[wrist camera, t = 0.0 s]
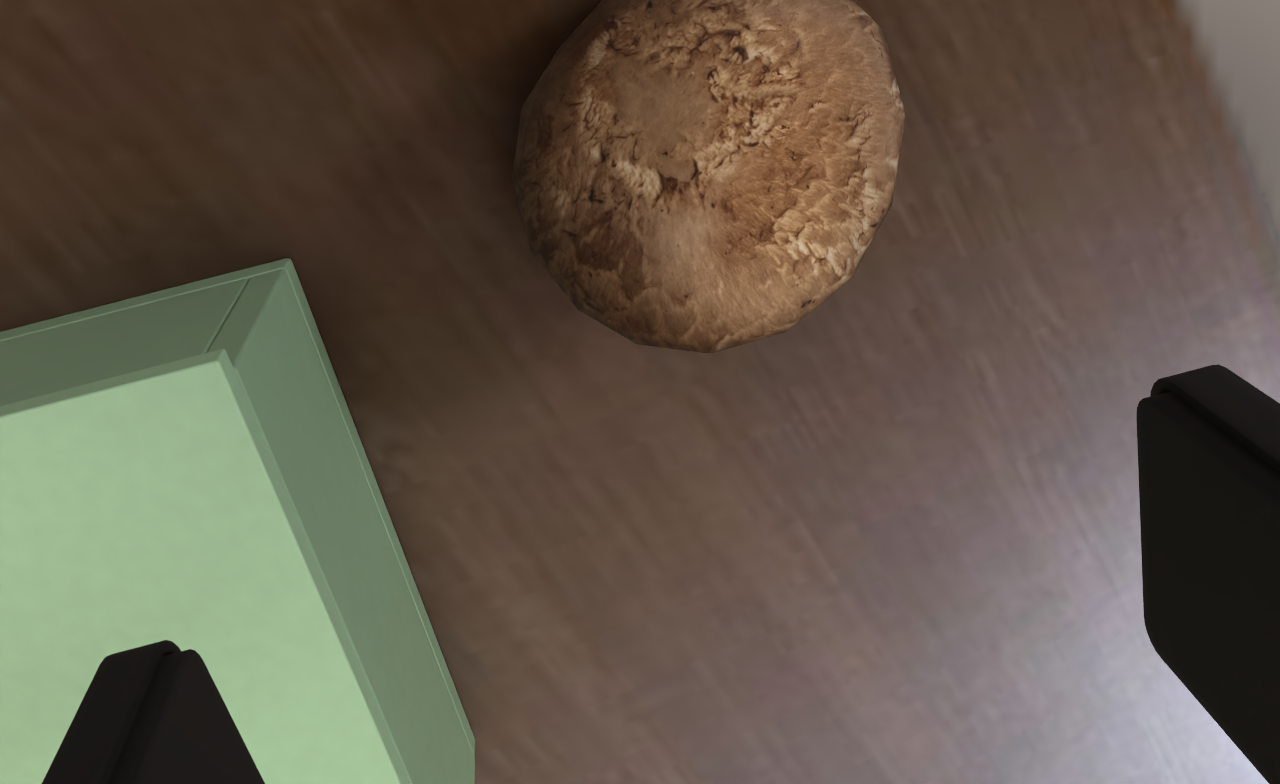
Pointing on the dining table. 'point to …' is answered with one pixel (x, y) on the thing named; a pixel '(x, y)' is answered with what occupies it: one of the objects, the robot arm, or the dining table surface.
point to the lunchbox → (283, 471)
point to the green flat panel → (170, 573)
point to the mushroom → (709, 163)
